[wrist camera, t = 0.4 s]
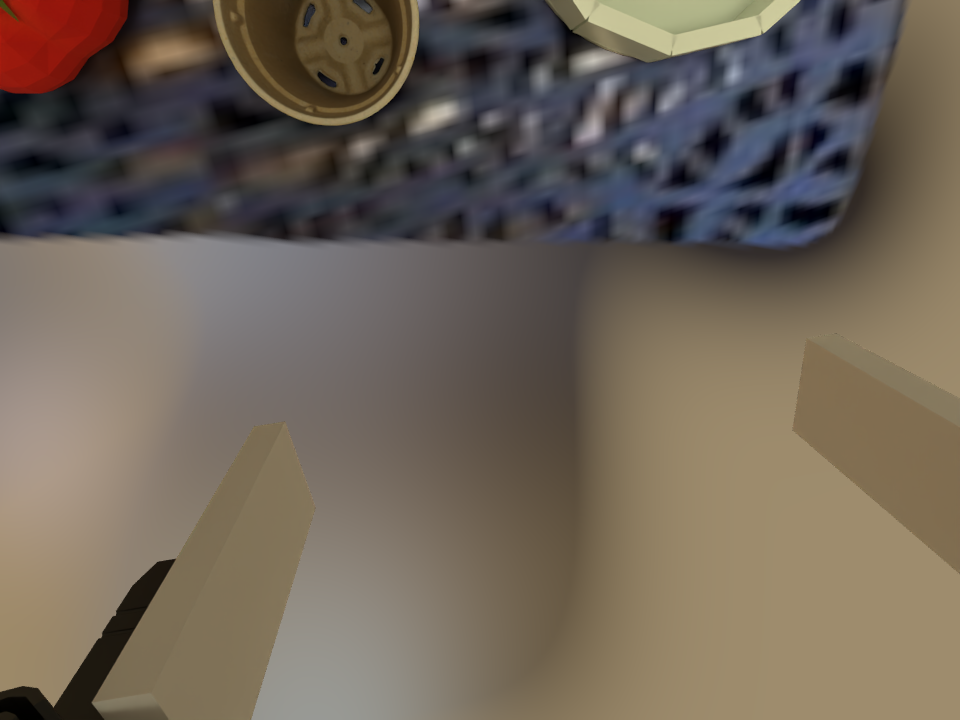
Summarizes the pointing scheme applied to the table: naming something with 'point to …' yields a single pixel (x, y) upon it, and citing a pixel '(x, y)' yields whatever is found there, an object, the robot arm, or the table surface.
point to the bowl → (668, 23)
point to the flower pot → (321, 53)
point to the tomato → (53, 40)
